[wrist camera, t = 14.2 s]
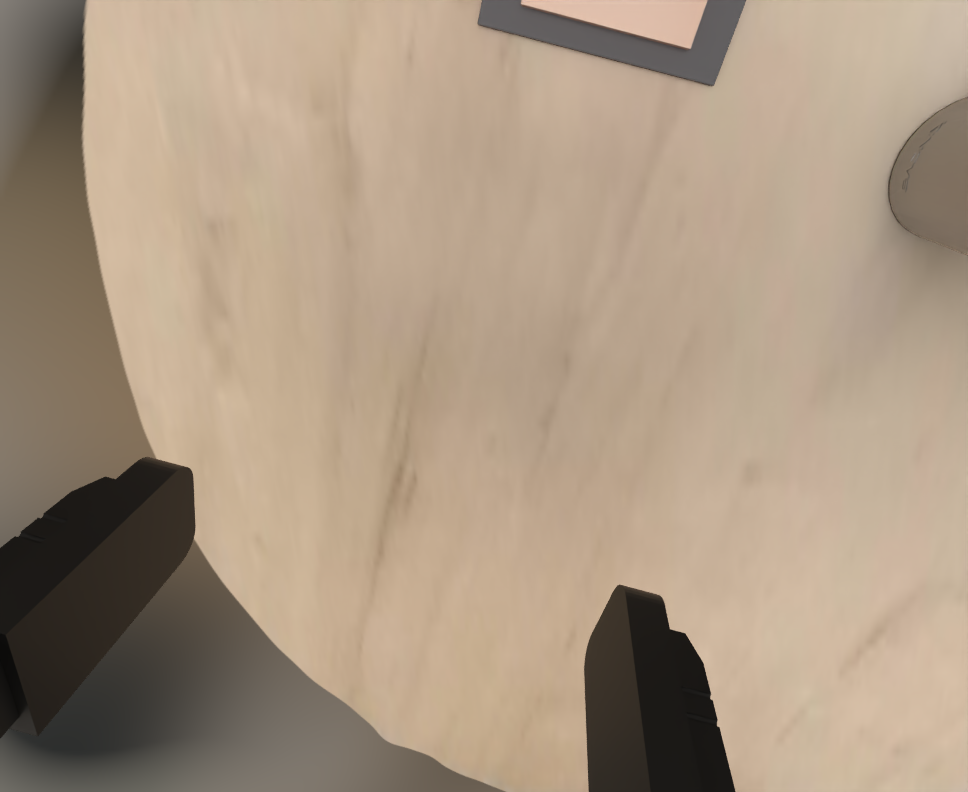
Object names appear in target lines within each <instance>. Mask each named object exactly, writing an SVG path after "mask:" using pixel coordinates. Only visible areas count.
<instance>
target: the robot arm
mask: <svg viewBox="0 0 968 792" xmlns="http://www.w3.org/2000/svg"><path fill="white" fill-rule="evenodd" d="M889 198H890V203H891V207H892V211H893V213H894V214H895V216H896V218H897V220H898V221H899V222H900V223H901V224H902V225H903V226H904V227H905V228H906V229H907V230H908V231H910V232H912V233H914V234H915V235H917V236H919V237H922V238H925V239H927V240H930V241H932V242H935V243H938V244H940V245H943V246H945V247H948V248H950V249H952V250H955V251H958V252H960V253H963V254H966V255H968V97H967V98H965V99H962V100H959V101H957V102H955V103H953V104H951V105H949V106H948V107H946V108H944V109H942V110H941V111H939V112H937V113H936V114H935V115H934V116H932V117H931V118H930V119H929V120H927V121H926V122H925V123H924V124H923V125H922V126H921V127H920V128H919V129H918V130H917V131H916V132H915V133H914V134H913V135H912V137H911V138H910V139H909V140H908V142H907V143H906V145H905V146H904V148H903V149H902V151H901V152H900V154H899V157H898V159H897V161H896V163H895V165H894V168H893V171H892V175H891V180H890V188H889ZM194 535H195V507H194V483H193V473H192V471H191V469H190V468H188V467H184V466H180V465H177V464H173V463H169V462H165V461H162V460H158V459H154V458H150V457H145V458H142V459H140V460H138V461H137V462H136V463H134V464H133V465H132V466H131V467H130V468H129V469H127V470H126V471H125V472H124V473H123V474H121V475H120V476H119V477H118V478H117V479H112V478H108V477H103V478H101V479H99V480H97V481H94V482H92V483H90V484H88V485H85V486H84V487H81V488H79V489H77V490H74V491H72V492H70V493H69V494H68V495H66V496H65V497H64V498H63V499H61V500H60V501H59V502H58V503H56V504H55V505H54V506H53V507H51V508H50V509H49V510H48V511H46V512H45V513H44V515H43V517H42V518H41V519H40V518H37V520H35V521H34V522H33V523H31V524H30V525H29V526H28V527H26V528H25V529H24V530H22V531H21V534H20V536H19V537H14V538H12V539H11V540H10V541H9V542H7V543H6V544H5V545H3V546H2V547H1V548H0V738H1V737H2V736H3V735H4V734H5V733H6V731H7V730H8V729H12V730H16V731H20V732H23V733H27V734H31V735H34V736H39V734H40V733H41V732H42V731H43V729H44V728H45V727H46V726H47V725H48V723H49V722H50V721H51V720H52V719H53V717H54V716H55V715H56V714H57V713H58V711H59V710H60V709H61V708H62V706H63V705H64V704H65V703H66V702H67V700H68V699H69V698H70V697H71V696H72V694H73V693H74V692H75V691H76V690H77V688H78V687H79V686H80V685H81V684H82V682H83V681H84V680H85V679H86V677H87V676H88V675H89V674H90V673H91V671H92V670H93V669H94V668H95V667H96V665H97V664H98V663H99V662H100V661H101V659H102V658H103V657H104V655H105V654H106V653H107V652H108V651H109V650H110V648H111V647H112V646H113V645H114V643H115V642H116V641H117V640H118V639H119V638H120V636H121V635H122V634H123V633H124V631H125V630H126V629H127V628H128V627H129V625H130V624H131V623H132V622H133V621H134V619H135V618H136V617H137V616H138V615H139V613H140V612H141V611H142V610H143V608H144V607H145V606H146V605H147V604H148V602H149V601H150V600H151V599H152V598H153V596H154V595H155V594H156V593H157V592H158V590H159V589H160V588H161V587H162V586H163V584H164V583H165V582H166V581H167V579H168V578H169V577H170V576H171V574H172V573H173V572H174V571H175V570H176V569H177V567H178V566H179V565H180V564H181V562H182V561H183V560H184V558H185V557H186V555H187V553H188V551H189V549H190V547H191V545H192V542H193V539H194ZM584 676H585V703H586V729H587V756H588V783H589V792H735V788H734V784H733V780H732V776H731V772H730V768H729V764H728V760H727V756H726V752H725V748H724V744H723V740H722V736H721V732H720V728H719V727H717V716H716V712H715V708H714V704H713V700H711V699H710V695H711V692H710V688H709V684H708V680H707V676H706V672H705V668H704V664H703V662H702V660H701V659H700V657H699V655H698V654H697V652H696V650H695V649H694V647H693V645H692V644H691V642H690V640H689V639H688V637H687V636H686V634H685V633H681V632H678V631H674V630H670V628H669V623H668V618H667V613H666V609H665V604H664V601H663V599H662V597H661V596H660V595H657V594H653V593H649V592H645V591H642V590H638V589H634V588H631V587H627V586H623V585H618V586H617V587H616V588H615V590H614V591H613V593H612V595H611V597H610V599H609V601H608V603H607V605H606V607H605V609H604V611H603V613H602V615H601V617H600V619H599V621H598V623H597V625H596V627H595V629H594V631H593V632H592V635H591V637H590V639H589V643H588V646H587V651H586V656H585V666H584Z"/></svg>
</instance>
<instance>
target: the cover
mask: <svg viewBox="0 0 968 792" xmlns="http://www.w3.org/2000/svg"><path fill="white" fill-rule="evenodd" d="M707 1H708V0H521V6H523V7H526V8H530V9H534V10H538V11H542V12H545V13H549V14H553V15H557V16H560V17H564V18H568V19H572V20H575V21H579V22H583V23H587V24H591V25H594V26H598V27H602V28H606V29H609V30H613V31H617V32H621V33H624V34H628V35H632V36H636V37H640V38H643V39H647V40H651V41H655V42H658V43H662V44H666V45H670V46H673V47H677V48H681V49H685V50H689V49H691V46H692V43H693V40H694V37H695V35H696V32H697V29H698V26H699V23H700V20H701V18H702V15H703V12H704V9H705V6H706V3H707Z"/></svg>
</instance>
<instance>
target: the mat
mask: <svg viewBox="0 0 968 792" xmlns="http://www.w3.org/2000/svg"><path fill="white" fill-rule="evenodd" d="M745 2H746V0H708V1H707V3H706V6H705V9H704V12H703V15H702V18H701V20H700V23H699V26H698V29H697V32H696V35H695V37H694V40H693V43H692V46H691V49H689V50H685V49H681V48H677V47H673V46H670V45H666V44H662V43H658V42H655V41H651V40H647V39H643V38H640V37H636V36H632V35H628V34H624V33H621V32H617V31H613V30H609V29H606V28H602V27H598V26H594V25H591V24H587V23H583V22H579V21H575V20H572V19H568V18H564V17H560V16H557V15H553V14H549V13H545V12H542V11H538V10H534V9H530V8H526V7H523V6H521V0H482V3H481V9H480V14H479V20H478V25H481V26H485V27H489V28H493V29H496V30H500V31H504V32H508V33H512V34H516V35H519V36H523V37H527V38H531V39H535V40H539V41H542V42H546V43H550V44H554V45H558V46H562V47H565V48H569V49H573V50H577V51H581V52H585V53H588V54H592V55H596V56H600V57H604V58H608V59H611V60H615V61H619V62H623V63H627V64H631V65H634V66H638V67H642V68H646V69H650V70H653V71H657V72H661V73H665V74H669V75H673V76H676V77H680V78H684V79H688V80H692V81H696V82H699V83H703V84H707V85H711V86H714V84H715V81H716V78H717V76H718V73H719V71H720V68H721V65H722V63H723V60H724V57H725V55H726V52H727V49H728V47H729V44H730V42H731V39H732V36H733V34H734V31H735V28H736V26H737V23H738V21H739V18H740V15H741V13H742V10H743V7H744V5H745Z"/></svg>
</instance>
